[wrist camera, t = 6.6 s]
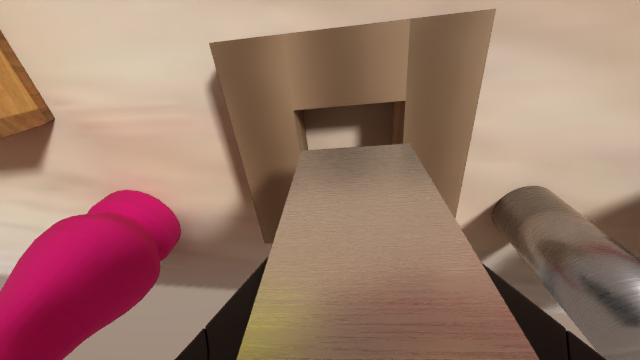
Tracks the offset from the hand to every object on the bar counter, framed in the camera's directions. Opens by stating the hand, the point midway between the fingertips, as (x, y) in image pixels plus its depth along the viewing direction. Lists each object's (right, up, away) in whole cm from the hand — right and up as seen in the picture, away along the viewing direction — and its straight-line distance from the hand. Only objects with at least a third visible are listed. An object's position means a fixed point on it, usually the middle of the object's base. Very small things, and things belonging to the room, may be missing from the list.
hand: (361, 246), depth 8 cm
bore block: (0, +5, +8) cm, 10 cm away
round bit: (+13, 0, +10) cm, 17 cm away
